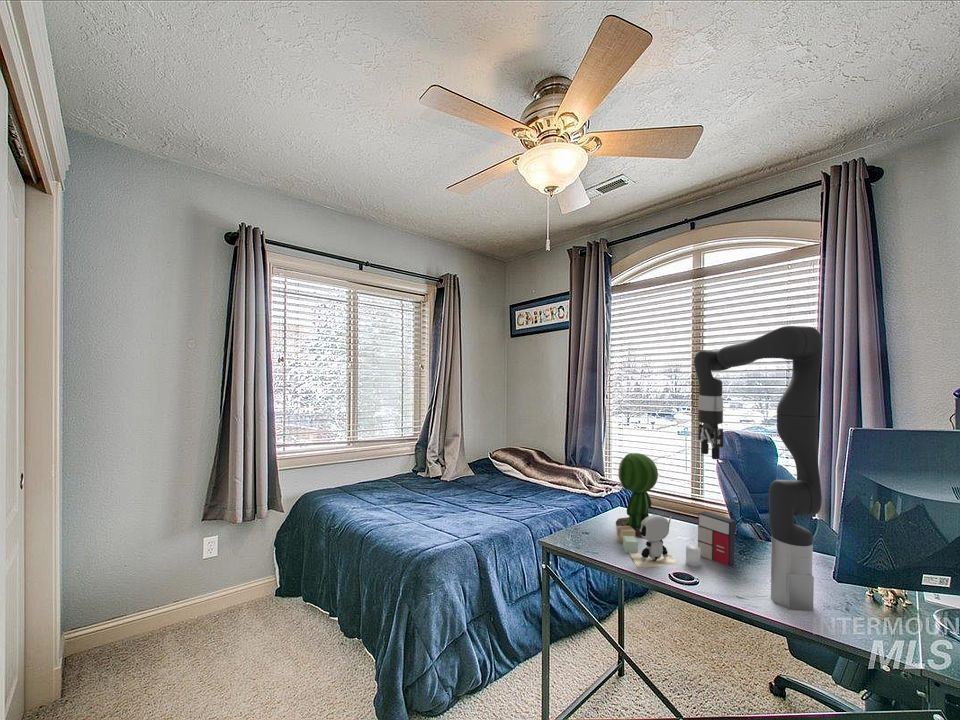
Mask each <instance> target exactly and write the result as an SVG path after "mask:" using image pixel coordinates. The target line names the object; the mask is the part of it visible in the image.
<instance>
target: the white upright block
mask: <svg viewBox="0 0 960 720" xmlns="http://www.w3.org/2000/svg"><path fill="white" fill-rule="evenodd" d="M701 557H702V556H701V548H700V547H698V545H694V544H687V545H685V564H686V565H687V566H690V567H693V568H699V567H701V563H702V562H701V559H702V558H701Z"/></svg>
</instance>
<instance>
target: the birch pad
mask: <svg viewBox="0 0 960 720" xmlns="http://www.w3.org/2000/svg"><path fill="white" fill-rule="evenodd" d="M641 554H642V552H638V553H629V556H630V557H631V560H632V561H633V563H634V565H635V567H636V568H637V569H640V570H641V569H646V568H654V567H662V566H670V565H677V564H678V563H677V561H676V559H675V558H674V557H673V555H672V554H668V556H667V557H666V558H664V557H663V554H661V557H660V559H657V560H653V559H652V558H651V557H649V556H648V558H646V561H645V562H642V561H641V557H642V555H641Z"/></svg>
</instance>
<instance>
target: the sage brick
mask: <svg viewBox="0 0 960 720" xmlns="http://www.w3.org/2000/svg"><path fill="white" fill-rule="evenodd" d="M622 547H623V549H624V551H625V553H639V551H638V550H639V549H638V548H639V542H638V540H637V538H636V536H635V537H634V536H623V545H622Z"/></svg>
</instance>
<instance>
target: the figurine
mask: <svg viewBox="0 0 960 720" xmlns="http://www.w3.org/2000/svg"><path fill="white" fill-rule="evenodd" d="M617 475H618V480H619V481H620V483H621V486H622V487H623V488H624V489H625V490H628V491H629V492H632V494H631V495H630V498H629V500H628V503H627V505H626V514H627V517H621V518H617V519H616V521H615V524H616V527H617V526H631V527H632V528H633V529H634V530H635V538H636V537H637V538H640V539H644V538H643V537H642V535H641V534H640V525H641V522H642V521H643V520H644V519H645V518H646V517H648V516H650V515H649V514H650V513H649V508H651V507H652V499H651V497H650V495H649V493H648V492H649V491H650V490H651V489H653V488H654V487H655V485H656V484H657V483H658V479H659V472H658V467H657V465H656V464H655V461H653V460H652V459H651V458H650V457H649V456H647V455H646V454H643V453H639V452H638V453H637V452H634V453H628V454H626V455H624V457H623V458H622V459H621V460H620V462H619V466H618V474H617Z"/></svg>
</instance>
